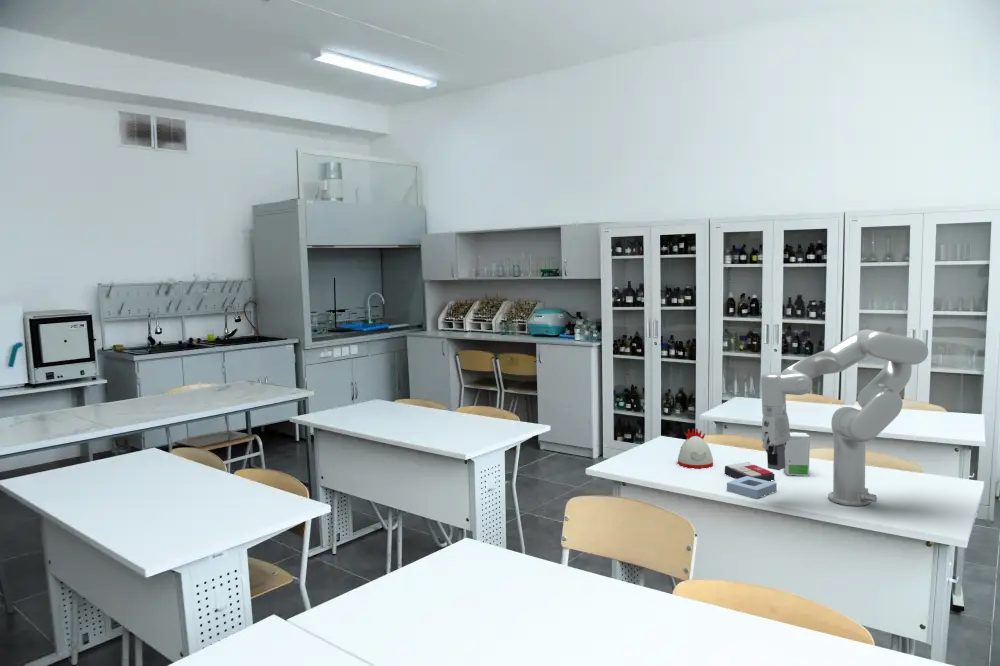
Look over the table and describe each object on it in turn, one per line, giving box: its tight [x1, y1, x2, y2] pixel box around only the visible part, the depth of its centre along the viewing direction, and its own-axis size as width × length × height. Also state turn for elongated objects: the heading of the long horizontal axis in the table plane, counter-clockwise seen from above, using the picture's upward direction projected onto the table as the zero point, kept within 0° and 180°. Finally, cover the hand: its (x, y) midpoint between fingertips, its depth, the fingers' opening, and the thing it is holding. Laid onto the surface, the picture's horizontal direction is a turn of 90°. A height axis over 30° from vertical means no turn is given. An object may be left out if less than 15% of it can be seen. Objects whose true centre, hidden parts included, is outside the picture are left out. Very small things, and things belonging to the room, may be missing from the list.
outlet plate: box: [726, 476, 778, 499], centre depth 243 cm, size 12×12×3 cm
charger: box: [767, 444, 785, 471], centre depth 230 cm, size 4×4×8 cm
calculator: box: [724, 461, 775, 482], centre depth 259 cm, size 11×4×15 cm
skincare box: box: [782, 431, 811, 477], centre depth 261 cm, size 8×7×16 cm
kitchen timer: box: [677, 428, 714, 470], centre depth 279 cm, size 14×14×15 cm
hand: (776, 462), depth 230 cm, fingers closed on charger, 4 cm apart
